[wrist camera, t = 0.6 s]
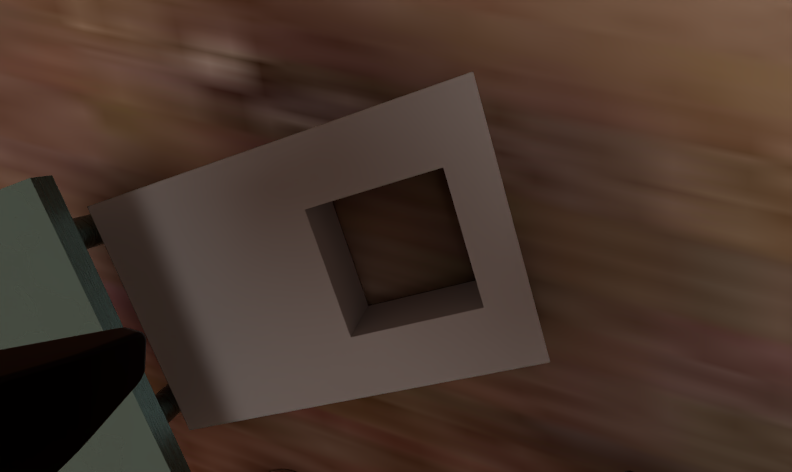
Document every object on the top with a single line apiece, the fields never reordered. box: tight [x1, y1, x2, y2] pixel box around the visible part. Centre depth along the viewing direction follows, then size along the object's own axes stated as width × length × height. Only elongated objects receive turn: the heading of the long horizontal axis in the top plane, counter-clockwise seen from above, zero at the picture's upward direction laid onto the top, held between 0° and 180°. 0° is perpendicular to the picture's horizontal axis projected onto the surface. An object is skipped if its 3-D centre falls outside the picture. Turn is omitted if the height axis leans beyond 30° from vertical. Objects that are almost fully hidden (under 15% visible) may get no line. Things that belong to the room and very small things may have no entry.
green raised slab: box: [0, 176, 191, 472], centre depth 20 cm, size 14×6×8 cm, turn 18°
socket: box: [88, 72, 550, 430], centre depth 20 cm, size 12×18×4 cm, turn 108°
